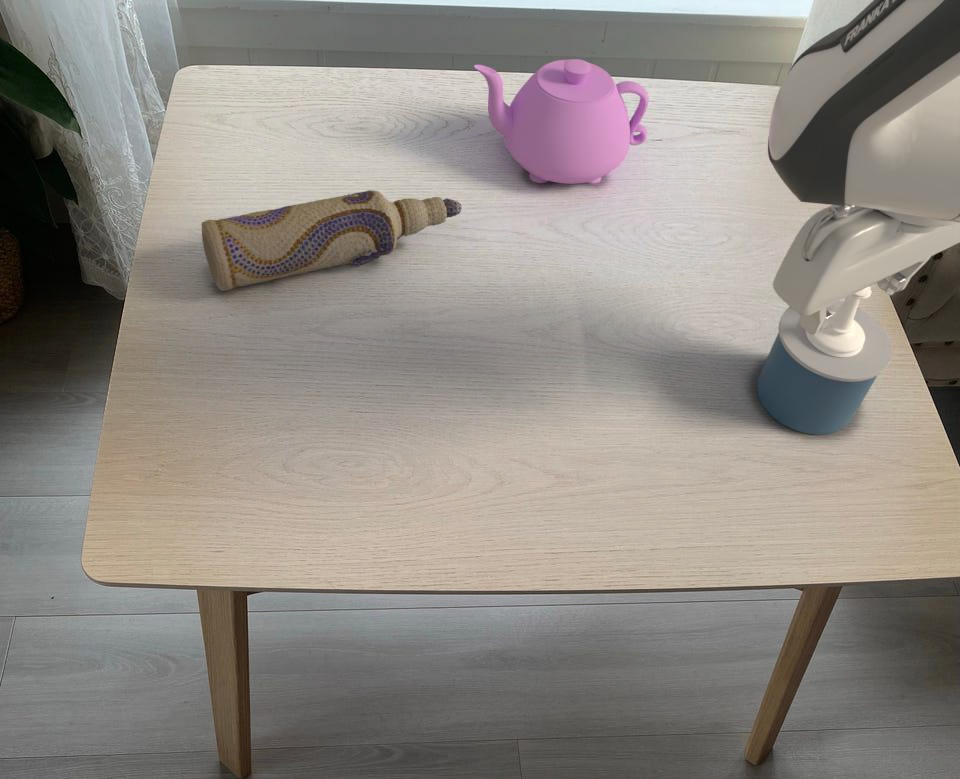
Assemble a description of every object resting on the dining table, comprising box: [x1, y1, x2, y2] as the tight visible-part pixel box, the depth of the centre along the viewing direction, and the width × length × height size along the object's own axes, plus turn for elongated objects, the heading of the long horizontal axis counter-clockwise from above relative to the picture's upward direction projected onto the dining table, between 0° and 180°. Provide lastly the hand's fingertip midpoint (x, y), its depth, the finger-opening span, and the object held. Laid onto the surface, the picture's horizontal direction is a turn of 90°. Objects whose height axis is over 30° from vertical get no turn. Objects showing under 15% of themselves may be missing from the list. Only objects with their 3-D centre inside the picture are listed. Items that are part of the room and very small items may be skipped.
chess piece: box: [806, 286, 872, 357], centre depth 78 cm, size 5×5×10 cm
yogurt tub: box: [756, 300, 893, 436], centre depth 85 cm, size 10×10×8 cm
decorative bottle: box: [200, 189, 463, 292], centre depth 93 cm, size 26×8×7 cm, turn 112°
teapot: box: [473, 58, 650, 185], centre depth 104 cm, size 20×14×12 cm
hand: (851, 307), depth 79 cm, fingers open, 8 cm apart
